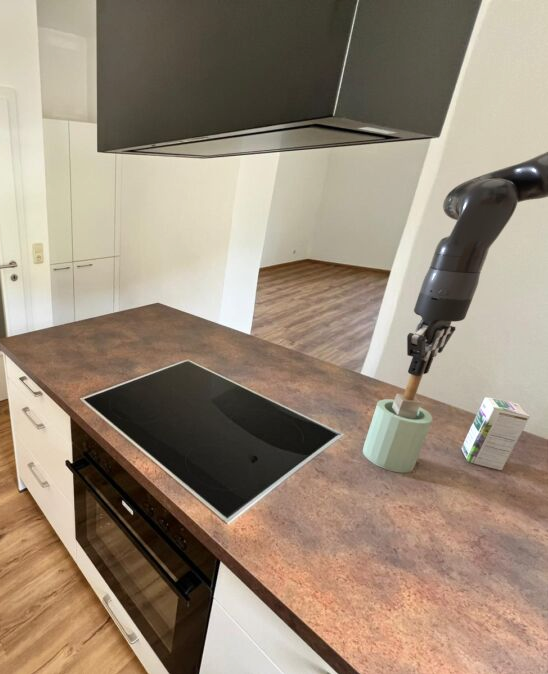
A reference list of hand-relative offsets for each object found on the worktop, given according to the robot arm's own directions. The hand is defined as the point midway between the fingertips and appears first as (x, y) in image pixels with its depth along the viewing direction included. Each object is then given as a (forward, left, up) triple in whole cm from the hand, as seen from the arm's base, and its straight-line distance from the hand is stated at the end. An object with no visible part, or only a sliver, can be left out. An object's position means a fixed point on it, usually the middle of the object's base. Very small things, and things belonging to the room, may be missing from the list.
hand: (417, 373), depth 75 cm
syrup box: (-20, -6, -22) cm, 31 cm away
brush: (0, 0, -10) cm, 10 cm away
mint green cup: (0, 0, -22) cm, 22 cm away
